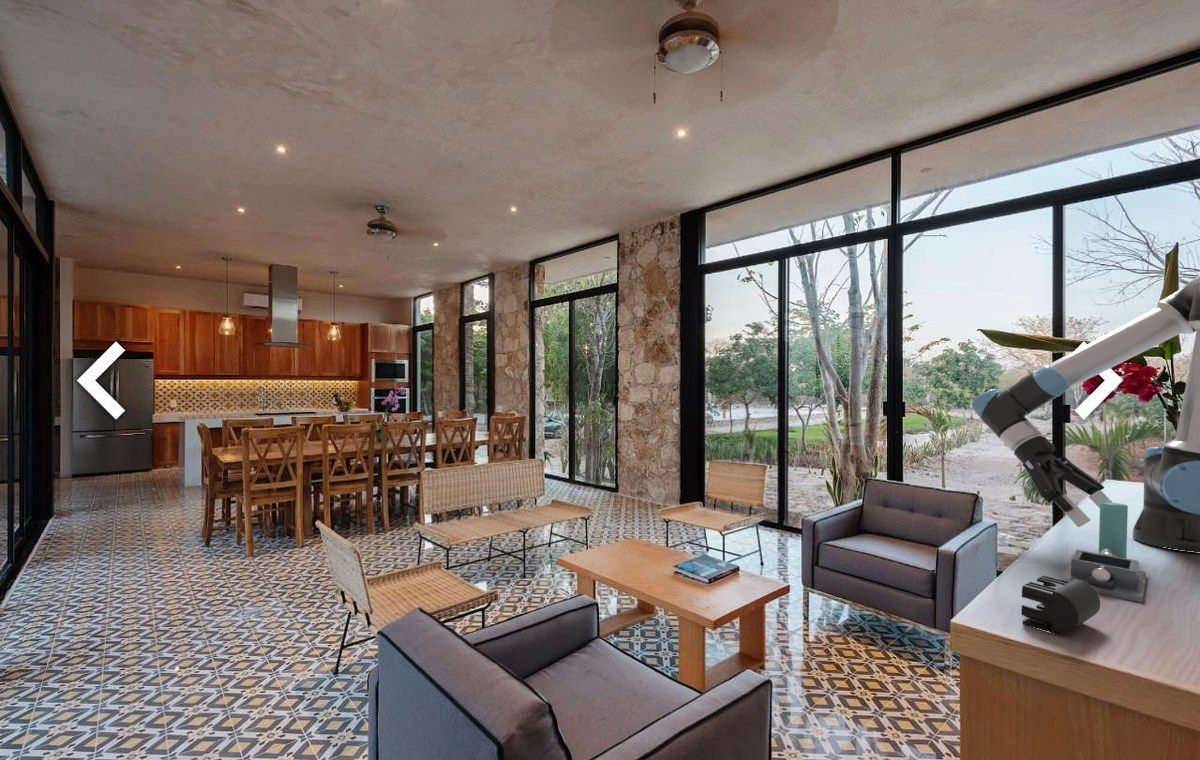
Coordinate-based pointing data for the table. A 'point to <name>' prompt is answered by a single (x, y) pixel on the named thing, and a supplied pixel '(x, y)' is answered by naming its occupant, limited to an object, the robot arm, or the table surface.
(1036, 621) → the end cap
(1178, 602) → the table surface
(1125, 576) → the stand
